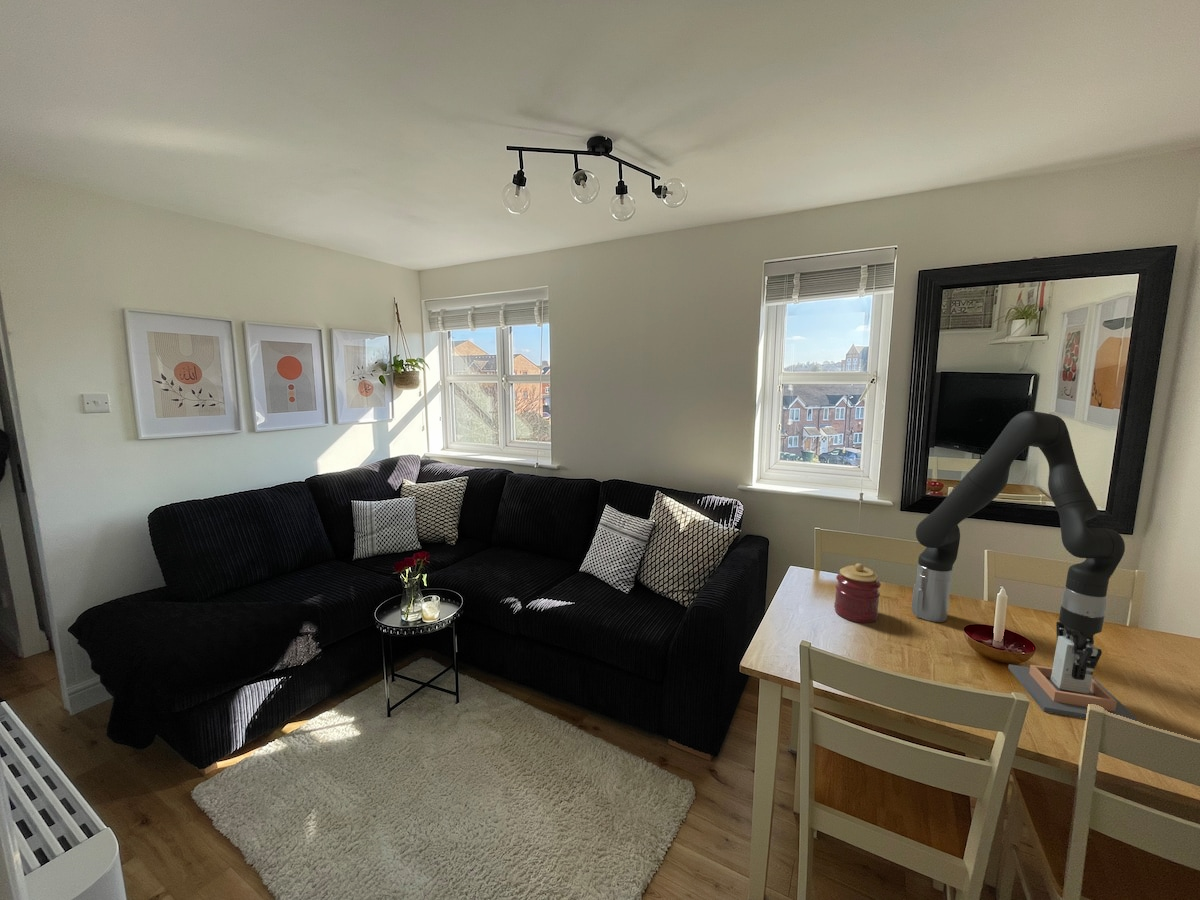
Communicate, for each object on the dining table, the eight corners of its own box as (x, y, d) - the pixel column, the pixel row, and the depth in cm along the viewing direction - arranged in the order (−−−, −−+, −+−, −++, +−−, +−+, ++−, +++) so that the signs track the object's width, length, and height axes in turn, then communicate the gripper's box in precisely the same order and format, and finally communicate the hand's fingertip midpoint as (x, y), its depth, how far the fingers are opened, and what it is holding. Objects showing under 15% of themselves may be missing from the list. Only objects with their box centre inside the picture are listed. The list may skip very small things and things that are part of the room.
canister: (879, 610, 165) (883, 561, 162) (876, 627, 154) (881, 574, 151) (836, 601, 172) (840, 553, 169) (831, 617, 161) (835, 566, 158)
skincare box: (1059, 689, 120) (1067, 644, 118) (1049, 678, 125) (1056, 634, 122) (1091, 694, 118) (1099, 648, 116) (1079, 683, 123) (1087, 638, 121)
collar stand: (1043, 711, 116) (1045, 697, 115) (1008, 668, 133) (1009, 655, 132) (1141, 728, 110) (1144, 713, 110) (1091, 680, 127) (1093, 667, 127)
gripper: (1047, 593, 126) (1038, 654, 129) (1081, 620, 113) (1069, 687, 115) (1083, 597, 124) (1073, 659, 126) (1122, 625, 110) (1110, 694, 113)
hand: (1071, 672), depth 121 cm, fingers closed on skincare box, 4 cm apart
